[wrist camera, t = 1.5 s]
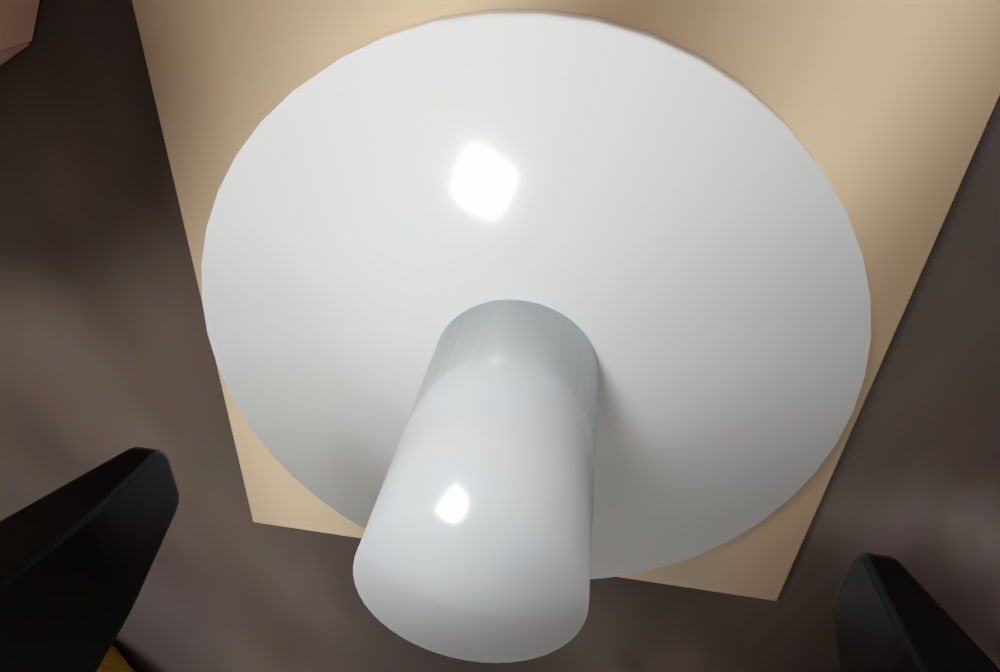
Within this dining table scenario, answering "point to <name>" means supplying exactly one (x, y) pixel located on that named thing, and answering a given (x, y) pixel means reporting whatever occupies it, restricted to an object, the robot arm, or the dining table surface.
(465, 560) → the lid
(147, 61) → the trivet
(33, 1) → the bowl
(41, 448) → the dining table surface
